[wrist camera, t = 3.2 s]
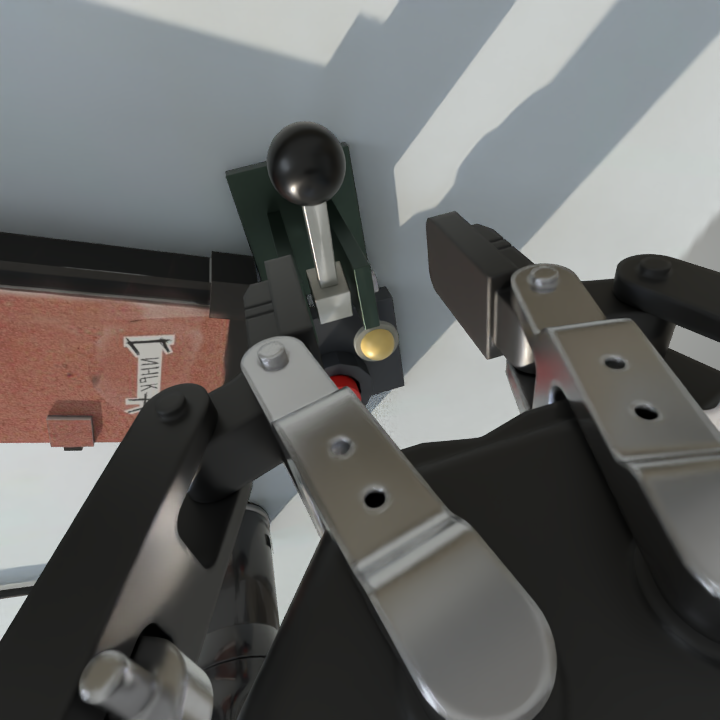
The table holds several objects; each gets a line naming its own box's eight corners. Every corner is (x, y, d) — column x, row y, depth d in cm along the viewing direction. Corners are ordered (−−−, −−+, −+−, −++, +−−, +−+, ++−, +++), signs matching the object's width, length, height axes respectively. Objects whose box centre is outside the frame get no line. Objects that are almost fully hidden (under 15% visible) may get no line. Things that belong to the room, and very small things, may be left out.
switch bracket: (225, 171, 34) (230, 243, 24) (344, 141, 35) (397, 200, 25) (268, 298, 41) (286, 394, 31) (367, 271, 42) (414, 356, 32)
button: (320, 411, 46) (324, 424, 44) (311, 381, 43) (314, 394, 42) (360, 399, 46) (364, 411, 45) (353, 369, 43) (357, 381, 42)
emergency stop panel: (304, 401, 49) (310, 428, 46) (275, 316, 42) (280, 342, 39) (398, 373, 50) (410, 398, 47) (385, 286, 43) (399, 308, 40)
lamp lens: (355, 356, 43) (363, 377, 41) (347, 321, 41) (355, 341, 38) (396, 344, 44) (406, 364, 41) (391, 309, 41) (402, 328, 39)
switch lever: (250, 114, 19) (268, 170, 18) (330, 95, 20) (353, 149, 18) (300, 291, 31) (313, 334, 30) (349, 278, 32) (364, 319, 30)
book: (-92, 409, 39) (-125, 455, 35) (-172, 203, 29) (-229, 234, 26) (233, 413, 48) (235, 450, 44) (253, 256, 38) (258, 285, 34)
